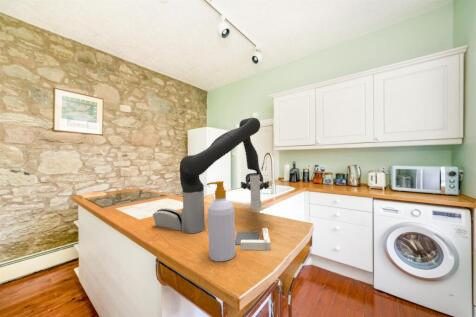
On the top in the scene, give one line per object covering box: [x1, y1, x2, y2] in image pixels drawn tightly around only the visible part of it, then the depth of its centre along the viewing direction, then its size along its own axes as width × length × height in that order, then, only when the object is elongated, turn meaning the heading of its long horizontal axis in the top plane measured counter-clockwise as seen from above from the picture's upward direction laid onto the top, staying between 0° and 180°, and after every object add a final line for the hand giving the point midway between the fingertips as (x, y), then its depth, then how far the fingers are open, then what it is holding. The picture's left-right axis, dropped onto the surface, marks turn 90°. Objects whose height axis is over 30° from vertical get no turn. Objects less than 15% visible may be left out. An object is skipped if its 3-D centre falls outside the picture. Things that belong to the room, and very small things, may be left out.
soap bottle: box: [206, 180, 237, 262], centre depth 57 cm, size 9×9×24 cm
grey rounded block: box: [152, 207, 182, 232], centre depth 83 cm, size 17×5×10 cm, turn 64°
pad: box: [235, 231, 260, 246], centre depth 69 cm, size 9×11×1 cm
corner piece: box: [240, 227, 272, 251], centre depth 66 cm, size 10×12×2 cm
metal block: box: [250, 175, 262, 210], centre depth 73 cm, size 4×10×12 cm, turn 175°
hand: (255, 187), depth 73 cm, fingers closed on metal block, 4 cm apart
